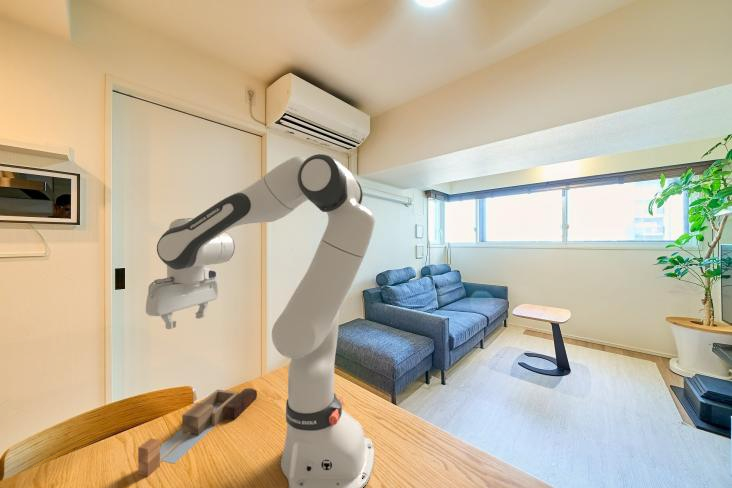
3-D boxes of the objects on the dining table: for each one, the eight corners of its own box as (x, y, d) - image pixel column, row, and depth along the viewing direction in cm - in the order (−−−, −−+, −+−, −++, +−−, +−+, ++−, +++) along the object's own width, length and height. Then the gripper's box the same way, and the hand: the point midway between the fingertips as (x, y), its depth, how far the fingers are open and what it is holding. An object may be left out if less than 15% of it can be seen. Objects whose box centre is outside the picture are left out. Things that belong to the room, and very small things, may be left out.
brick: (234, 424, 72) (234, 408, 72) (222, 422, 72) (222, 406, 72) (257, 401, 82) (257, 387, 82) (246, 400, 83) (246, 386, 83)
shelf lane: (239, 406, 79) (239, 392, 79) (174, 467, 58) (174, 448, 58) (217, 403, 81) (217, 389, 81) (146, 461, 59) (146, 443, 59)
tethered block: (213, 422, 71) (213, 401, 71) (152, 477, 54) (152, 450, 54) (198, 420, 72) (198, 399, 72) (134, 473, 55) (133, 446, 55)
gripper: (159, 280, 61) (159, 337, 61) (222, 271, 81) (222, 313, 81) (138, 280, 62) (138, 335, 62) (205, 270, 82) (205, 312, 82)
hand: (186, 322), depth 72 cm, fingers open, 8 cm apart
